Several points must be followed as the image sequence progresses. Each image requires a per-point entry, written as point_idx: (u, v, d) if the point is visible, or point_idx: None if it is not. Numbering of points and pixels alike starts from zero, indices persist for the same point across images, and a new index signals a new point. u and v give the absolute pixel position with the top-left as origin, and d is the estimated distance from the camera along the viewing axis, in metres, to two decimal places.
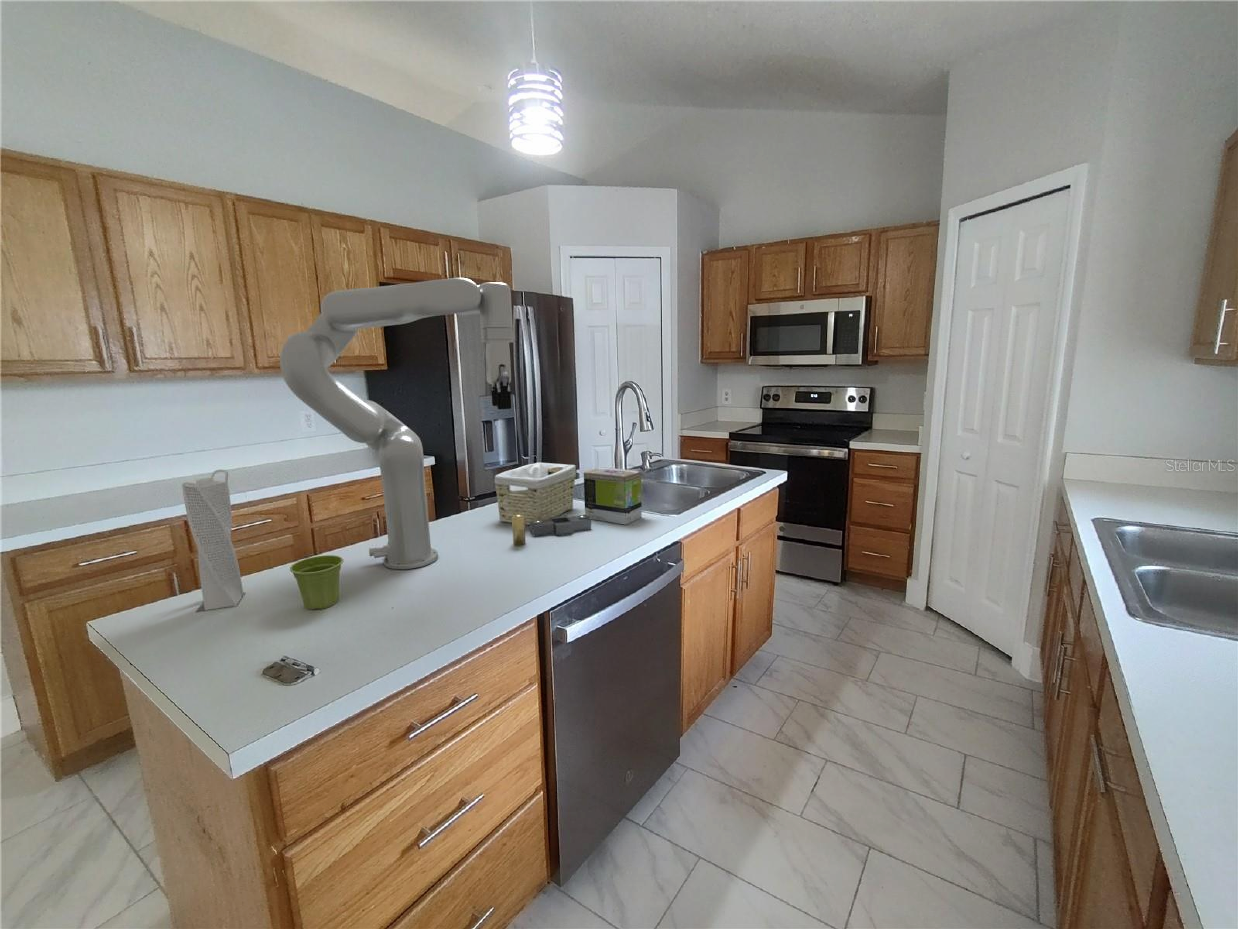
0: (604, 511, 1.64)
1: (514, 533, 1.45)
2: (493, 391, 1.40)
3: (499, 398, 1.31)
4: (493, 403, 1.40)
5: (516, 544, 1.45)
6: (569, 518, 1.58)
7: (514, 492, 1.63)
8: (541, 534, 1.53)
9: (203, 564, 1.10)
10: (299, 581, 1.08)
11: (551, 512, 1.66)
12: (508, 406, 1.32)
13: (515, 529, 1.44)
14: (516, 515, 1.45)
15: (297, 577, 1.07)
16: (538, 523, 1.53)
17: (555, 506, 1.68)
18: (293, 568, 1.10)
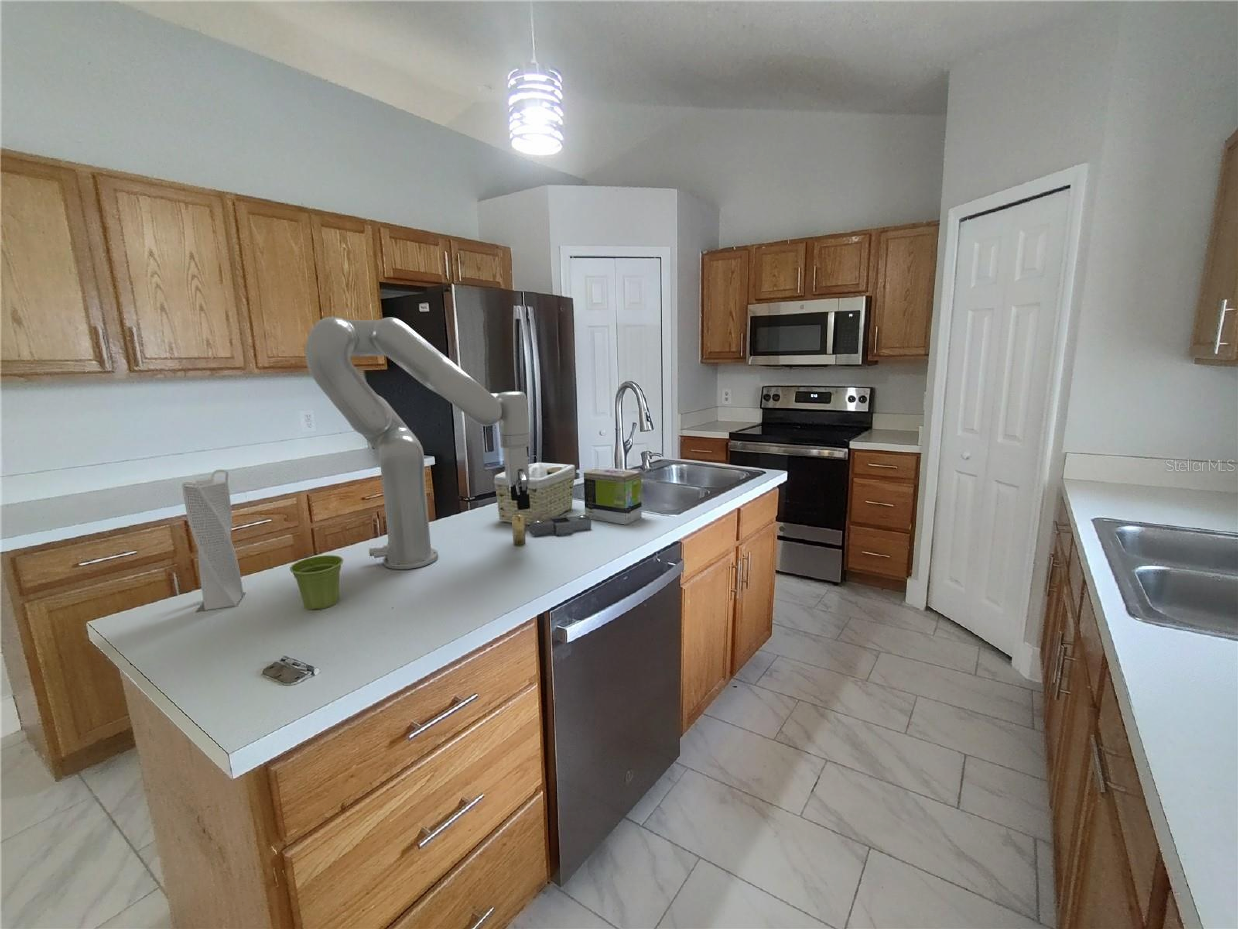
0: (604, 511, 1.64)
1: (514, 533, 1.45)
2: (512, 487, 1.48)
3: (519, 500, 1.39)
4: (512, 498, 1.48)
5: (516, 544, 1.45)
6: (569, 518, 1.58)
7: None
8: (541, 534, 1.53)
9: (203, 564, 1.10)
10: (299, 581, 1.08)
11: (551, 512, 1.66)
12: (527, 506, 1.40)
13: (515, 529, 1.44)
14: (516, 515, 1.44)
15: (297, 577, 1.07)
16: (538, 523, 1.53)
17: (555, 506, 1.68)
18: (293, 568, 1.10)
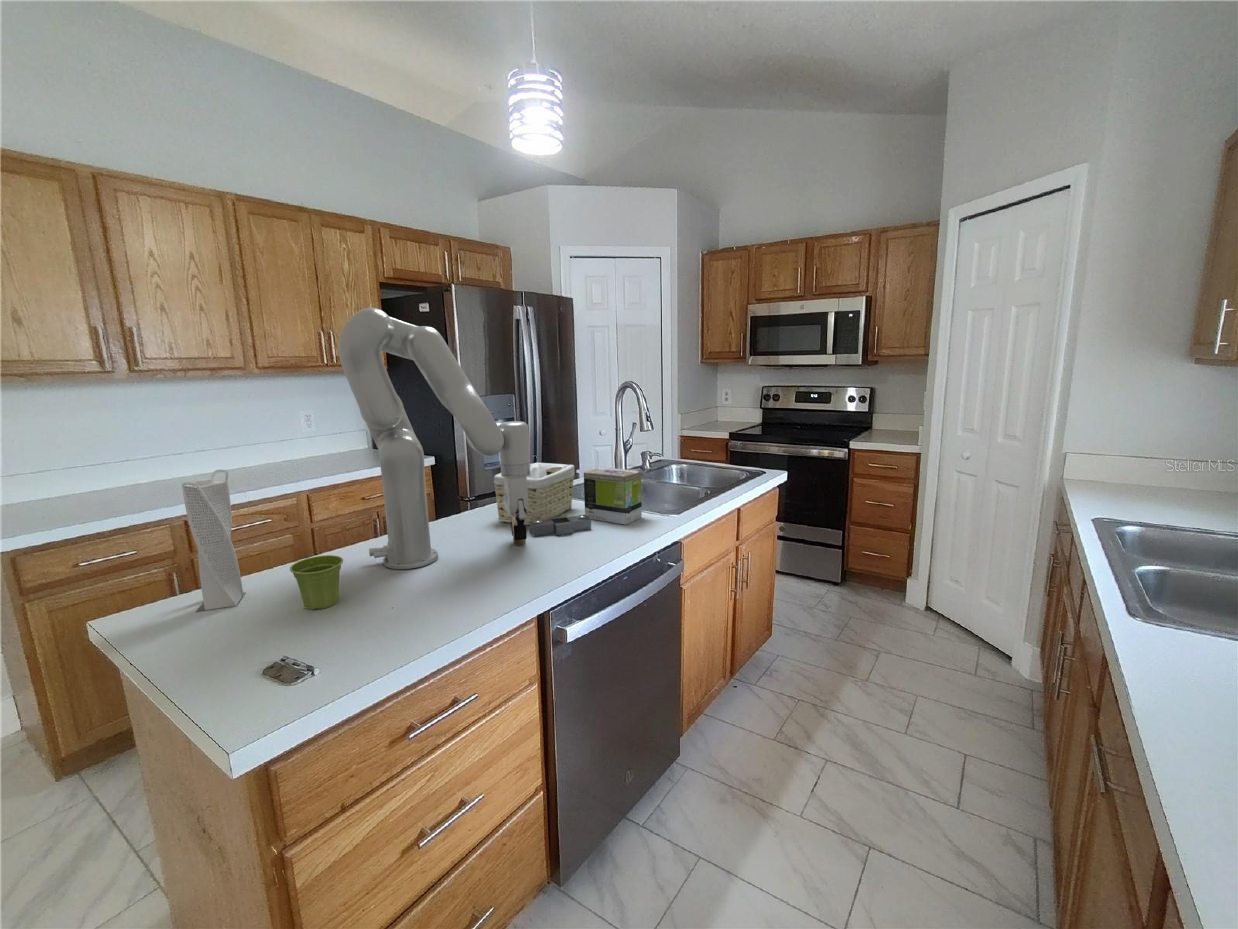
0: (604, 511, 1.64)
1: None
2: None
3: (516, 531, 1.43)
4: None
5: (516, 544, 1.45)
6: (569, 518, 1.58)
7: None
8: (541, 534, 1.53)
9: (203, 564, 1.10)
10: (299, 581, 1.08)
11: (550, 512, 1.66)
12: (524, 537, 1.44)
13: None
14: None
15: (297, 577, 1.07)
16: (538, 523, 1.53)
17: (554, 506, 1.68)
18: (293, 568, 1.10)
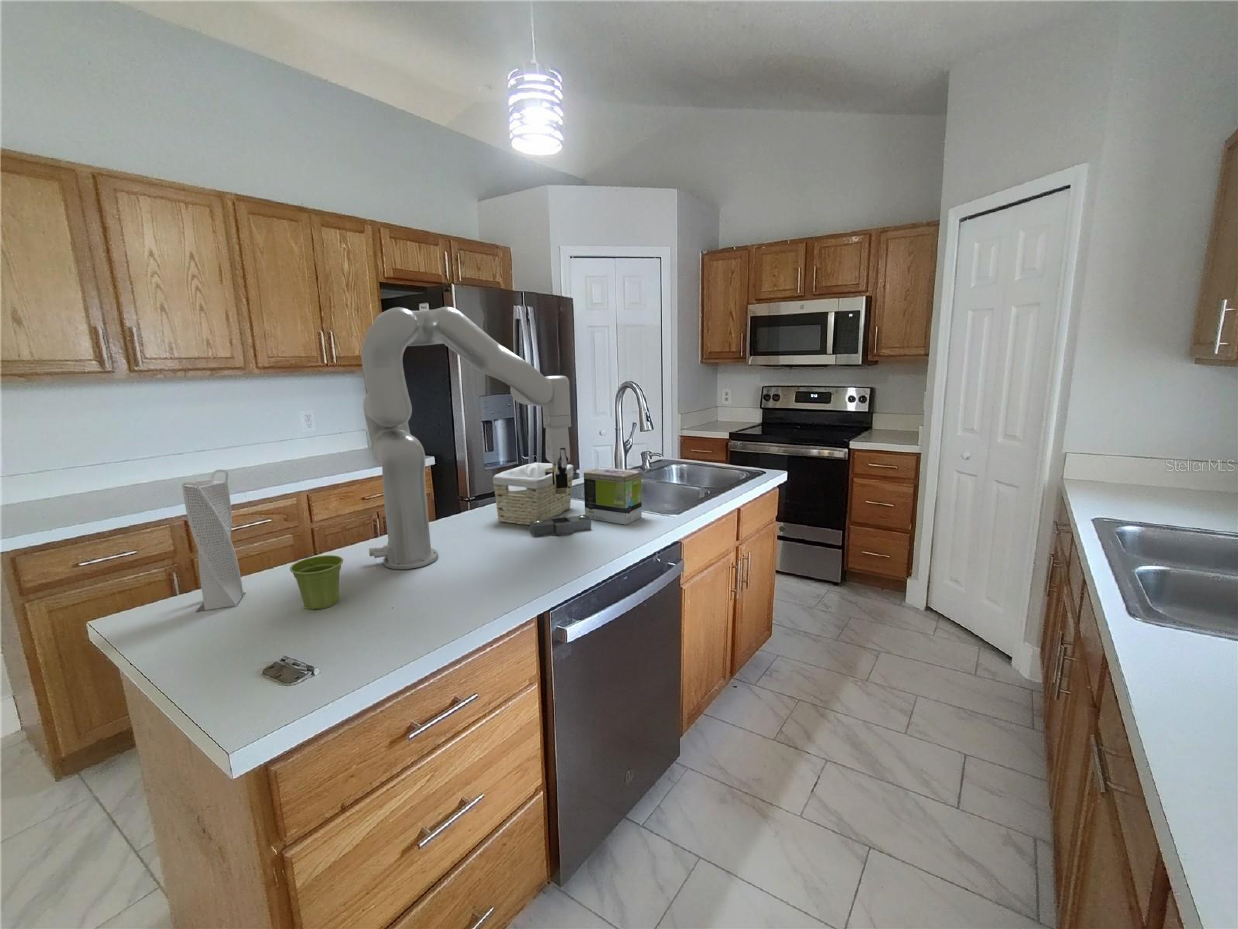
0: (604, 511, 1.64)
1: None
2: None
3: (557, 479, 1.52)
4: (554, 483, 1.56)
5: (558, 492, 1.54)
6: (569, 518, 1.58)
7: (513, 492, 1.63)
8: (541, 534, 1.53)
9: (203, 564, 1.10)
10: (299, 581, 1.08)
11: (550, 512, 1.66)
12: (565, 485, 1.53)
13: None
14: None
15: (297, 577, 1.07)
16: (538, 523, 1.53)
17: (553, 506, 1.68)
18: (293, 568, 1.10)
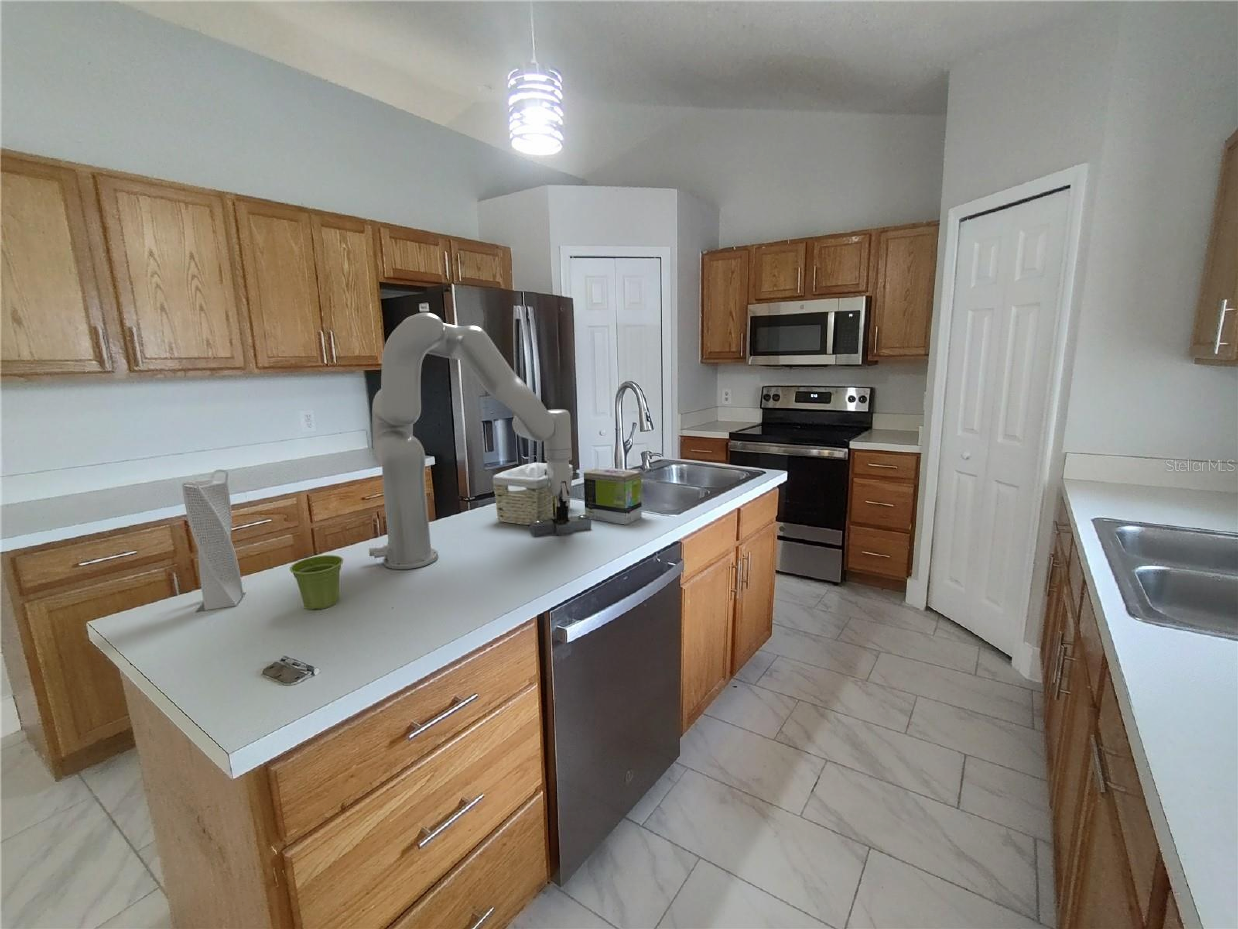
0: (604, 511, 1.64)
1: None
2: (554, 504, 1.57)
3: (558, 511, 1.54)
4: (554, 514, 1.57)
5: None
6: (569, 518, 1.58)
7: (512, 492, 1.63)
8: (541, 534, 1.53)
9: (203, 564, 1.10)
10: (299, 581, 1.08)
11: (549, 512, 1.67)
12: (565, 517, 1.55)
13: None
14: None
15: (297, 577, 1.07)
16: (538, 523, 1.53)
17: None
18: (293, 568, 1.10)
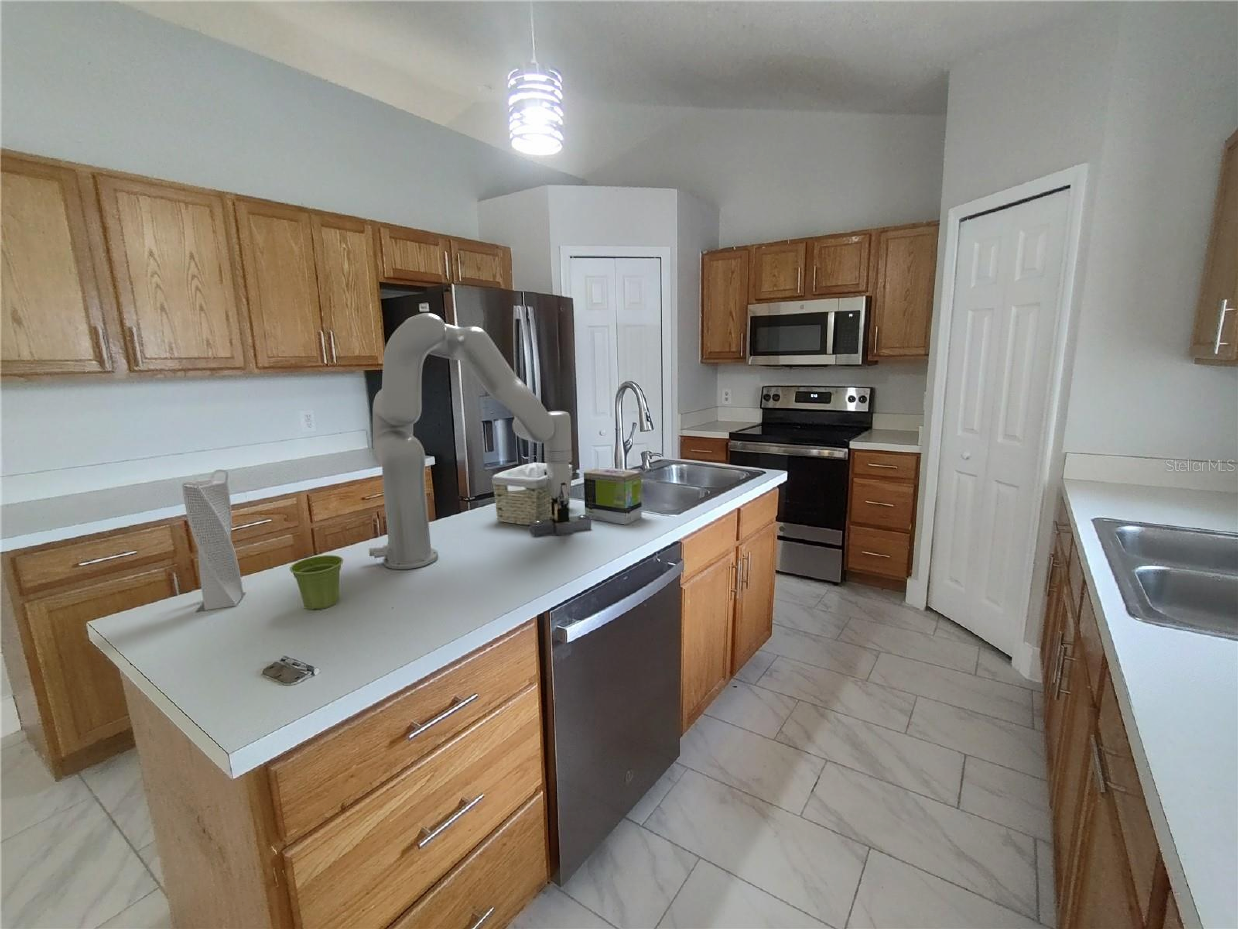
0: (604, 511, 1.64)
1: (556, 520, 1.55)
2: (553, 503, 1.58)
3: (559, 513, 1.52)
4: (552, 513, 1.59)
5: None
6: (569, 518, 1.58)
7: (512, 492, 1.63)
8: (541, 534, 1.53)
9: (203, 564, 1.10)
10: (299, 581, 1.08)
11: (549, 512, 1.67)
12: (566, 519, 1.53)
13: None
14: None
15: (297, 577, 1.07)
16: (538, 523, 1.53)
17: None
18: (293, 568, 1.10)
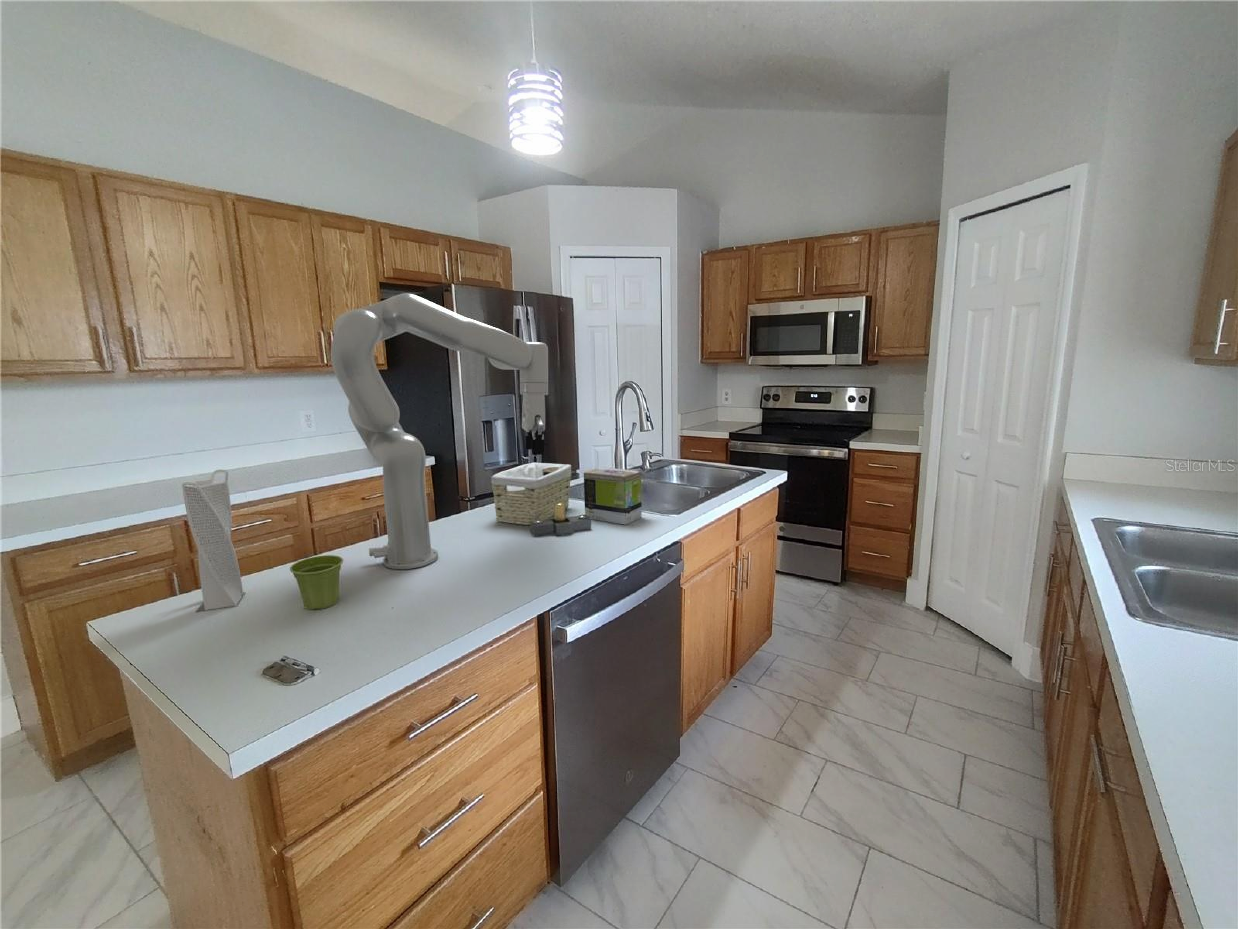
0: (604, 511, 1.64)
1: (556, 520, 1.55)
2: (527, 436, 1.55)
3: (534, 445, 1.46)
4: (526, 447, 1.55)
5: None
6: (569, 518, 1.58)
7: (511, 492, 1.63)
8: (541, 534, 1.53)
9: (203, 564, 1.10)
10: (299, 581, 1.08)
11: (548, 512, 1.67)
12: (541, 452, 1.47)
13: (557, 516, 1.55)
14: (558, 503, 1.55)
15: (297, 577, 1.07)
16: (538, 523, 1.53)
17: (552, 506, 1.69)
18: (293, 568, 1.10)
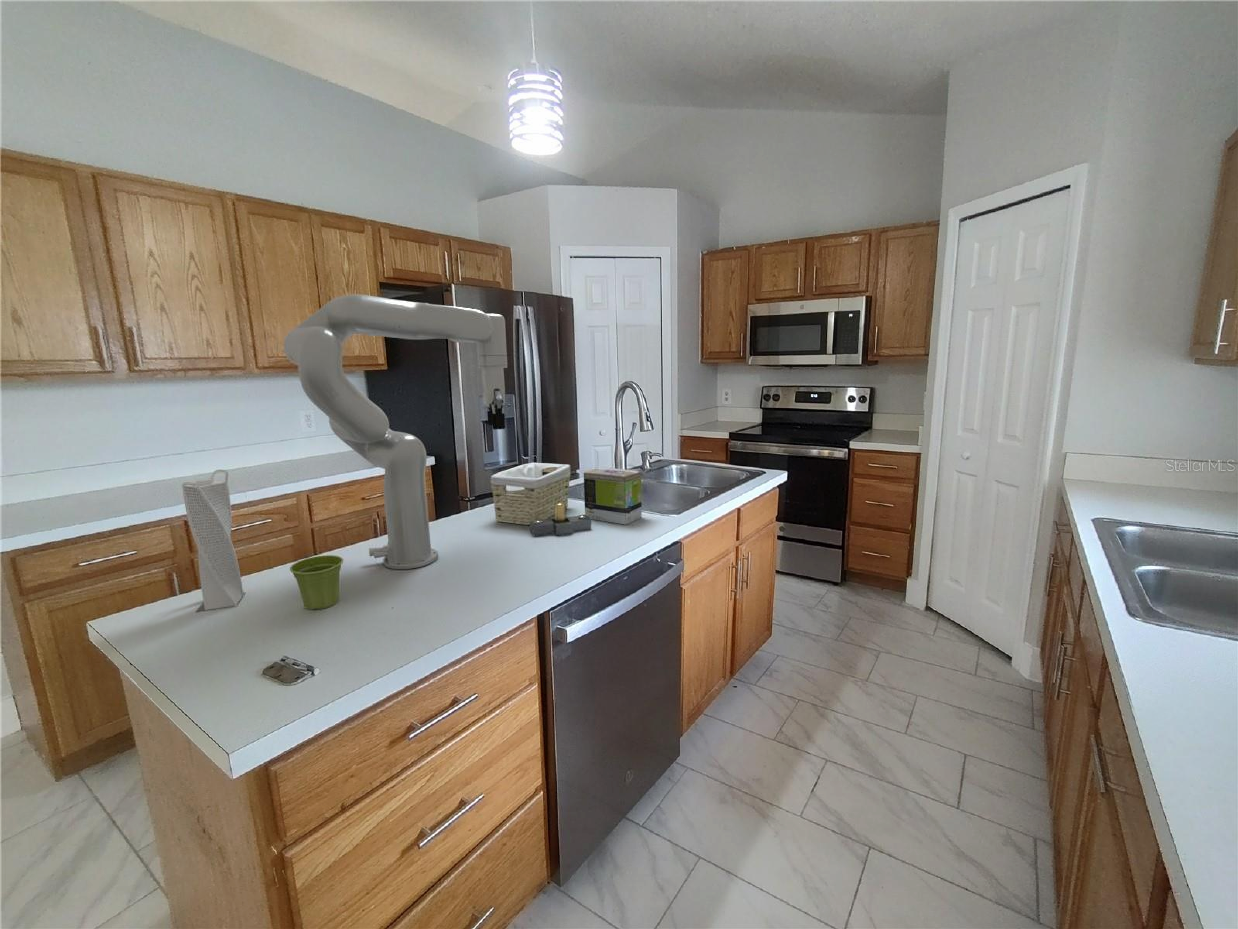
0: (604, 511, 1.64)
1: (556, 520, 1.55)
2: (489, 412, 1.52)
3: (494, 419, 1.43)
4: (489, 422, 1.52)
5: None
6: (569, 518, 1.58)
7: (511, 492, 1.63)
8: (541, 534, 1.53)
9: (203, 564, 1.10)
10: (299, 581, 1.08)
11: (547, 512, 1.67)
12: (502, 426, 1.44)
13: (557, 516, 1.55)
14: (558, 503, 1.55)
15: (297, 577, 1.07)
16: (538, 523, 1.53)
17: (551, 506, 1.69)
18: (293, 568, 1.10)
